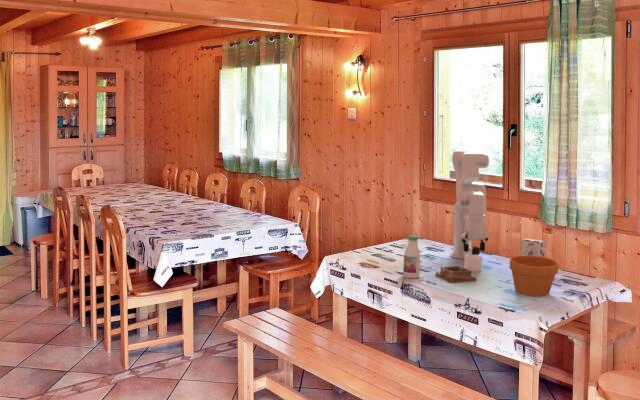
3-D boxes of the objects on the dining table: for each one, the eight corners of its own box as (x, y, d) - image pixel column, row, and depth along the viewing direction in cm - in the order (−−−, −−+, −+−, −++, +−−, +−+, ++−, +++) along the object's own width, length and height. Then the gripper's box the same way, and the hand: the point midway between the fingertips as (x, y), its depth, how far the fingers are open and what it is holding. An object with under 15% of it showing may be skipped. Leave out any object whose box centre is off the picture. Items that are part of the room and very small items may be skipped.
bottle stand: (435, 275, 315) (435, 266, 315) (459, 273, 321) (460, 264, 320) (451, 282, 303) (451, 273, 302) (476, 280, 308) (476, 271, 307)
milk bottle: (409, 274, 317) (411, 234, 314) (422, 277, 312) (424, 236, 309) (399, 276, 312) (401, 235, 309) (412, 279, 306) (414, 238, 304)
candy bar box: (544, 272, 329) (546, 241, 326) (539, 274, 325) (542, 242, 323) (523, 268, 336) (525, 237, 334) (519, 269, 332) (521, 238, 330)
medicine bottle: (477, 268, 333) (478, 245, 331) (481, 271, 326) (482, 248, 324) (463, 268, 333) (465, 245, 331) (467, 271, 326) (468, 248, 324)
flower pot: (544, 302, 276) (547, 268, 274) (499, 292, 289) (501, 260, 287) (563, 293, 291) (566, 261, 289) (519, 283, 305) (522, 253, 303)
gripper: (485, 216, 332) (483, 249, 334) (457, 217, 326) (455, 250, 327) (494, 218, 325) (492, 251, 327) (465, 219, 319) (463, 253, 320)
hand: (474, 251), depth 327 cm, fingers open, 9 cm apart
